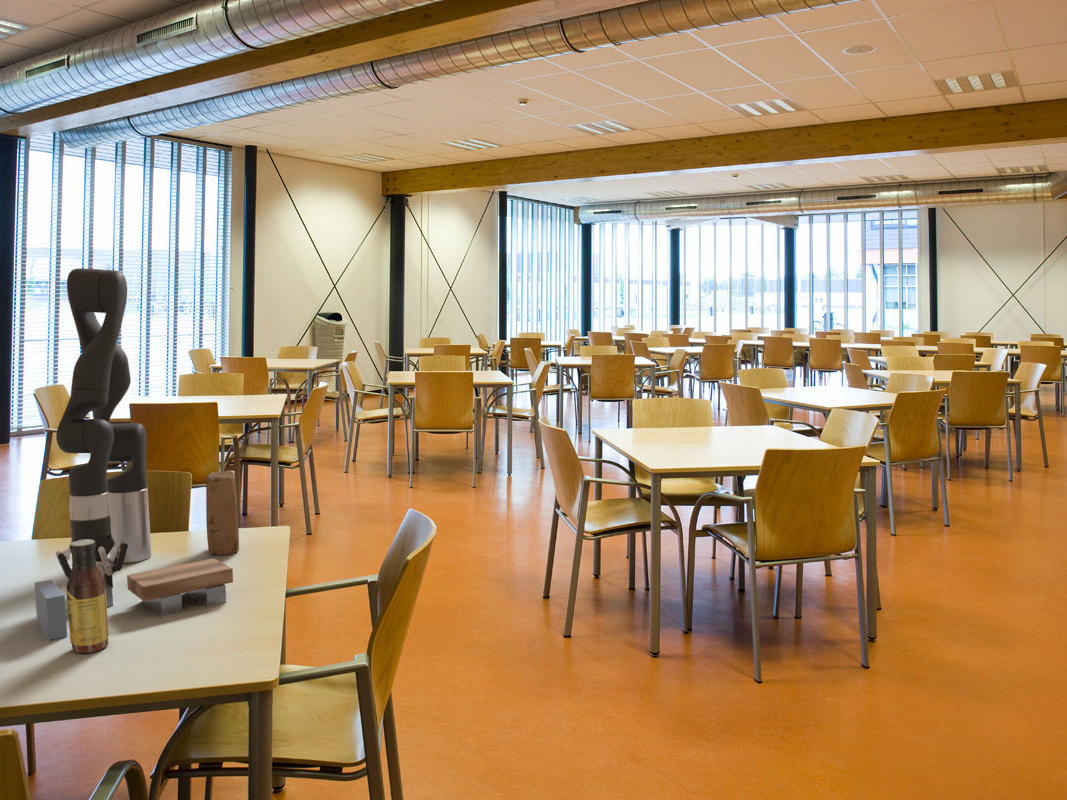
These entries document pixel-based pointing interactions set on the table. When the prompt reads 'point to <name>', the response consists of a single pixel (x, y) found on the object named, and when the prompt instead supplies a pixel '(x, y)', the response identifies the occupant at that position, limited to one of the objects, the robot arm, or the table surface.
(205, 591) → the bar rear
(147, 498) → the robot arm
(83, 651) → the sauce bottle
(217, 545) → the block
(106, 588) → the bar loose
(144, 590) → the slab
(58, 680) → the table surface
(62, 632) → the stop block
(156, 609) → the bar middle
